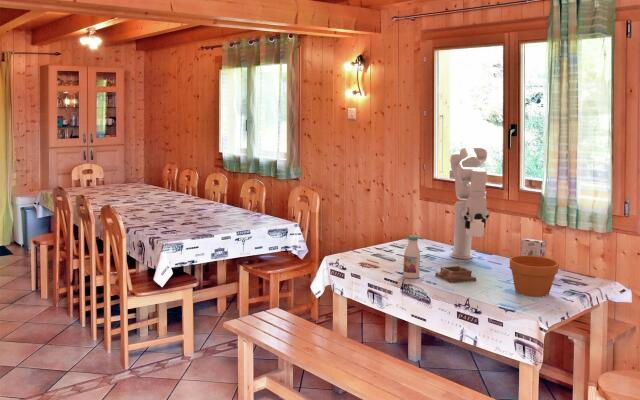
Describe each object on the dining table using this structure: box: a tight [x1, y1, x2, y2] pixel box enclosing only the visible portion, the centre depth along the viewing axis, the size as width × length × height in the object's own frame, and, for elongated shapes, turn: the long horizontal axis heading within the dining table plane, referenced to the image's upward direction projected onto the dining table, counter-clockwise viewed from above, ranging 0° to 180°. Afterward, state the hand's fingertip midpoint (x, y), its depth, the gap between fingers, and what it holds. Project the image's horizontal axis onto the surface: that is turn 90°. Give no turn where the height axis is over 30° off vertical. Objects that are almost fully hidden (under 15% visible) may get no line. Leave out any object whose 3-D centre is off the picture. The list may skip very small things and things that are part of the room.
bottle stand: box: [434, 265, 477, 284], centre depth 311 cm, size 14×14×4 cm
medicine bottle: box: [466, 213, 485, 238], centre depth 326 cm, size 7×7×12 cm
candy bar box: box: [520, 237, 547, 258], centre depth 329 cm, size 11×5×16 cm, turn 47°
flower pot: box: [509, 255, 560, 298], centre depth 289 cm, size 21×21×15 cm
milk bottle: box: [402, 235, 421, 279], centre depth 310 cm, size 8×8×20 cm
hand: (475, 227), depth 326 cm, fingers closed on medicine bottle, 8 cm apart
